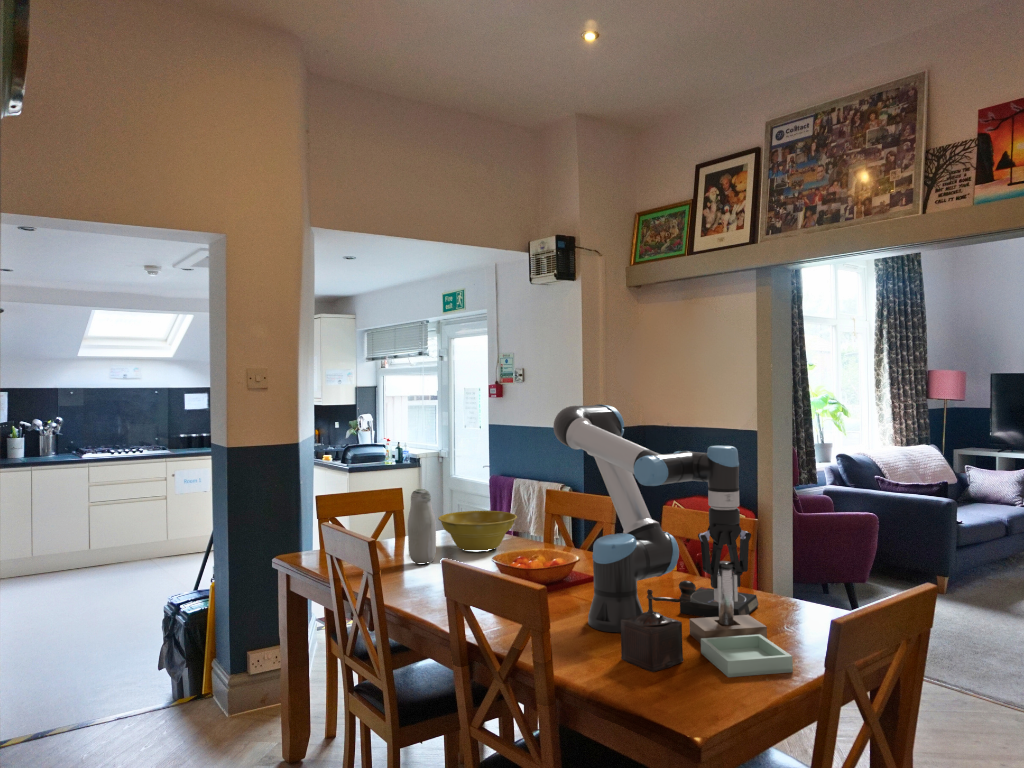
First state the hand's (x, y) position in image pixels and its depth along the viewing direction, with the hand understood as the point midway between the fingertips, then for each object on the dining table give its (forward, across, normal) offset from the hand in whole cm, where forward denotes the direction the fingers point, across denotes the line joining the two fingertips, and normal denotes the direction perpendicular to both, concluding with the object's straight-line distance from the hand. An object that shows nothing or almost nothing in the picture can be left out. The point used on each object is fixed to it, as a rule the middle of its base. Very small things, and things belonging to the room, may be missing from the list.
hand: (725, 600), depth 183 cm
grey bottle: (+11, -75, +101) cm, 126 cm away
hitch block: (+10, 0, 0) cm, 10 cm away
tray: (+9, -3, -16) cm, 19 cm away
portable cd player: (+10, +8, +23) cm, 26 cm away
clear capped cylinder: (+6, 0, 0) cm, 6 cm away
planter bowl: (+11, -52, +122) cm, 133 cm away
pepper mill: (+10, -21, -10) cm, 25 cm away
